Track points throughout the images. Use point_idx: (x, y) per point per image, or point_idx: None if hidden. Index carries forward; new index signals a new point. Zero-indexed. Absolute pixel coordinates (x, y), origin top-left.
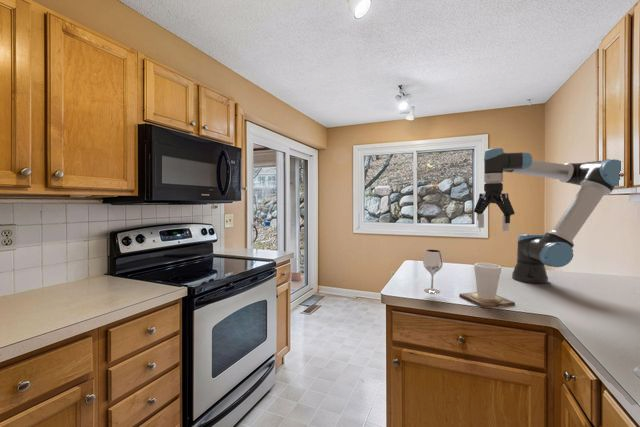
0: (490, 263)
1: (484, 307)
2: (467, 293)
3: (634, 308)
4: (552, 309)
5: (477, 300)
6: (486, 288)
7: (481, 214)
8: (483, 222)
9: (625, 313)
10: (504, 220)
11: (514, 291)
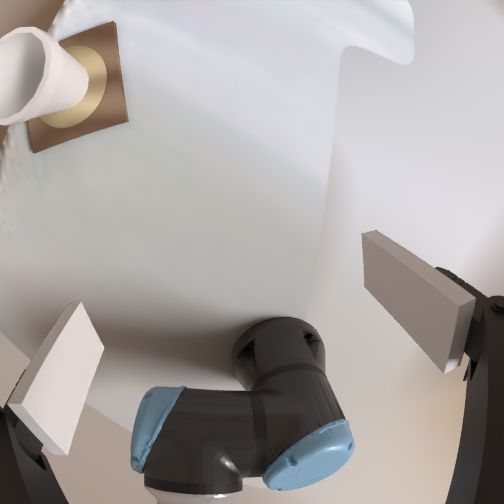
0: (35, 101)
1: None
2: (111, 45)
3: None
4: (22, 233)
5: None
6: (31, 71)
7: (450, 337)
8: (389, 307)
9: None
10: (31, 371)
11: (154, 233)
